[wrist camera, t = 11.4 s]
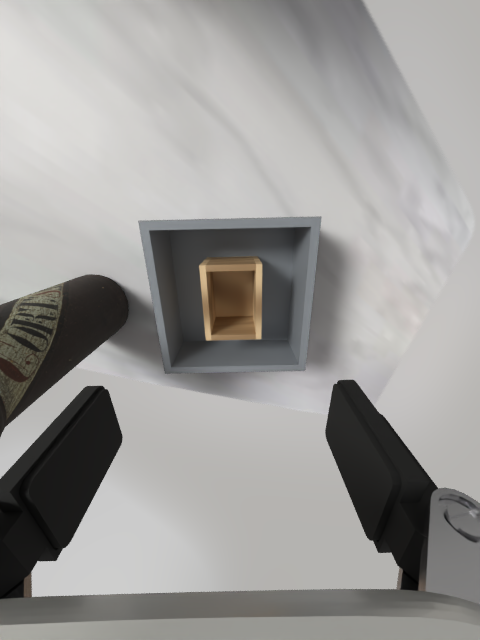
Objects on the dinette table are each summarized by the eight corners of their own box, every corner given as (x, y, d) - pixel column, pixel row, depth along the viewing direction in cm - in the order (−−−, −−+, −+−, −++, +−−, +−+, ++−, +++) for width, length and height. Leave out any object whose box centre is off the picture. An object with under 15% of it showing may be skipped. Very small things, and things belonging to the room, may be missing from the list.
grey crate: (162, 221, 26) (138, 220, 20) (301, 218, 26) (321, 216, 20) (179, 344, 33) (165, 373, 26) (292, 341, 33) (305, 370, 26)
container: (139, 289, 29) (-26, 395, 11) (122, 344, 33) (-30, 501, 14) (70, 260, 28) (-253, 326, 10) (59, 321, 31) (-202, 461, 13)
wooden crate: (207, 257, 27) (199, 265, 22) (257, 256, 27) (262, 263, 22) (211, 319, 30) (205, 340, 25) (257, 318, 30) (261, 339, 25)
